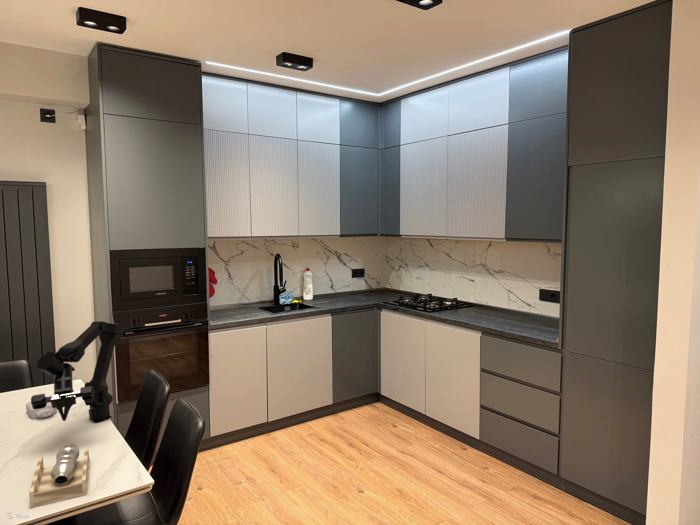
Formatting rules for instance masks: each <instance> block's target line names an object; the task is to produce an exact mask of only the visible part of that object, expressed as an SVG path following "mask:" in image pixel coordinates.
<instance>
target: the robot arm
mask: <svg viewBox="0 0 700 525" xmlns="http://www.w3.org/2000/svg"><path fill="white" fill-rule="evenodd" d="M123 333H124V327H123V326H122V324H120V323H113V322H112V323H111V322H106V321H103V320H101V321H100V320H99V321H98V320H96V321H95V320H94V321H93V322H91V324H90V325H89V326H88V327H87V328H86V329H85V330H84V331H83V332H82V333H81V334H79V336H78V337H76V339H74V340H72V341H71V342H68V343H65V344H64V345H62V346H61V347H60V348H59V349H58V350H57V351H56V352H54V351H51V350H50V351H47V352H46V354H43V355H42V356H41V357H40V358H39V359H38V360H37V362H36V367H37V369H39V370H40V371H42V372H44V373H46V374H48V375H49V376H53V394H52V395H51V396H46V394H45V393H40V394H34V395H32V396H31V397H30V402H31V404H32V407H33V409H41V408H45V407H46V406H47V403H49V402H51V405H52V408H57V412H58V413H59V415H60V417H61V420H62V421H63V422H64V421H67V418H68V415H69V413H70V410H71V408H72V406H74V405H76V404H77V398H81V399H82V400H83V401H84V404H85V406H89V409H88V417H89V418H88V420H89V421H91V422H93V423H94V424H97V423H101V422H103V421H106V420H110V419H112V418H113V417H112V416H111V414H110V413H111V412H110V405H111V403H113V398H114V397H113V395H112V394H110V393H109V386H108V384H107V377H108V374H109V373H108V372H109V369H110V366H111V360H112V356H113V353H114V348H115V346H116V344H118V343H119V341H120V340H121V337H122V335H123ZM97 338H99V341H100V347H99V352H98V355H97V359H96V362H95V367H94V371H93V374H92V378H91V380H90V381H89V382H88V381H86V382H85V383H84V386H83V387H80V388H79V389H80V391H75V390H74V389H73V372H74V371H76V369H75V367H74V366H73V365H72V364H70V363H78V362H80V361H81V359H82V358H83V357H84V356H85V354H86V353H85V352H86V350H87V348H88V347H89V346H90V344H92V343H93V342H94V341H95V340H96V339H97ZM74 391H75V392H74ZM108 418H109V419H108Z"/></svg>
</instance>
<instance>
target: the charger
mask: <svg viewBox="0 0 700 525" xmlns="http://www.w3.org/2000/svg"><path fill="white" fill-rule="evenodd" d="M25 411H26V413H27V416H28V417H30V419H31V420H37V419H40V417H41V418H46V417H50V416H52V415H55V414H57V412H58V410H57V408H52V405H51V402H49V403H47V406H46V407H45V408H41V409H33V407H32V404H31V401H28V402H27V403H26V404H25Z"/></svg>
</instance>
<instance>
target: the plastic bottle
mask: <svg viewBox="0 0 700 525" xmlns="http://www.w3.org/2000/svg"><path fill="white" fill-rule="evenodd" d="M80 454H81V453H80V449H79V447H78V445H76V444H75V443H74V444H73V443H67V444H64V445H62V446H61V447H59V449H58V450H57V453H56V455H55V460H56V461H55V464H54V465H53V466H54V467H53V469H52V471H51V478H52V480H53V481H54V485H55V486H57V487H63V486H65V485H66V484H67V482H68V481H69V480H70V479H72V477H73V476H74V474H75V462H76V461H78V458H79V456H80Z"/></svg>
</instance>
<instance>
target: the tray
mask: <svg viewBox="0 0 700 525" xmlns="http://www.w3.org/2000/svg"><path fill="white" fill-rule="evenodd" d="M89 450H90V449H89V446H86V447H84V454H83V459H80V460H76V462H75V474H74V476H73V477H72V479H70V480H69V481H68V482H67V484H66V485H65V486H63V487H57V486H55V485H54V481H53V480H52V478H51V471H52V469H53V467H54V466H55V465H53V466H48V467H45V466H44V456H38V460H37V464H36V467H35V470H34V473H33V477H32V480H31V485H30V487H29V488H30V489H29V492H28V494H29V495H28V496H29V505H30V506H29V507H30V509H31V508H36V507H40V506H44V505H48V504H52V503H57V502H61V501H65V500H64V499H66V500H69V499H68V498H70V499H73V498H72V497H74V498H77V497H76V496H78V497H81V496H80V495H82V496H86V495H85V494H87V495H88V486H87V485H88V483H89V482H88V481H89V472H88V471H89V470H90V451H89ZM60 500H61V501H60Z"/></svg>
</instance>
